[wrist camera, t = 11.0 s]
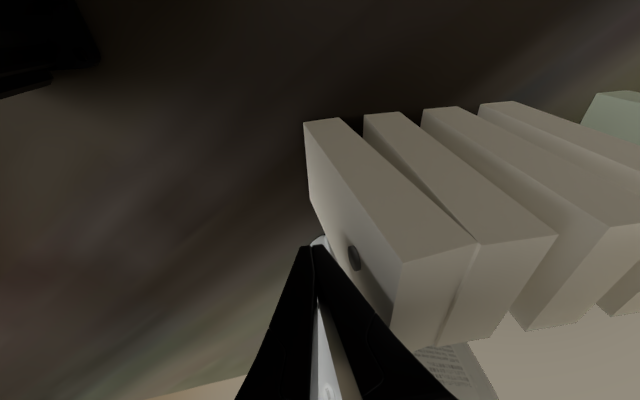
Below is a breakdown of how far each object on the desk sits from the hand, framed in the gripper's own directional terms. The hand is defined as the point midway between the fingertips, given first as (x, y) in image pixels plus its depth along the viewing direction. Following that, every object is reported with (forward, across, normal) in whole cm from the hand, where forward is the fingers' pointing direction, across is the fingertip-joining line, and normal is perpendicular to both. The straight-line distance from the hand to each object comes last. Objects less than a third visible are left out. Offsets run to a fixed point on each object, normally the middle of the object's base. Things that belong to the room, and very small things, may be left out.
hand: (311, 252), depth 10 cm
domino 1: (+7, -1, 0) cm, 7 cm away
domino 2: (+7, -5, 0) cm, 9 cm away
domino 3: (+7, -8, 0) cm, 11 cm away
